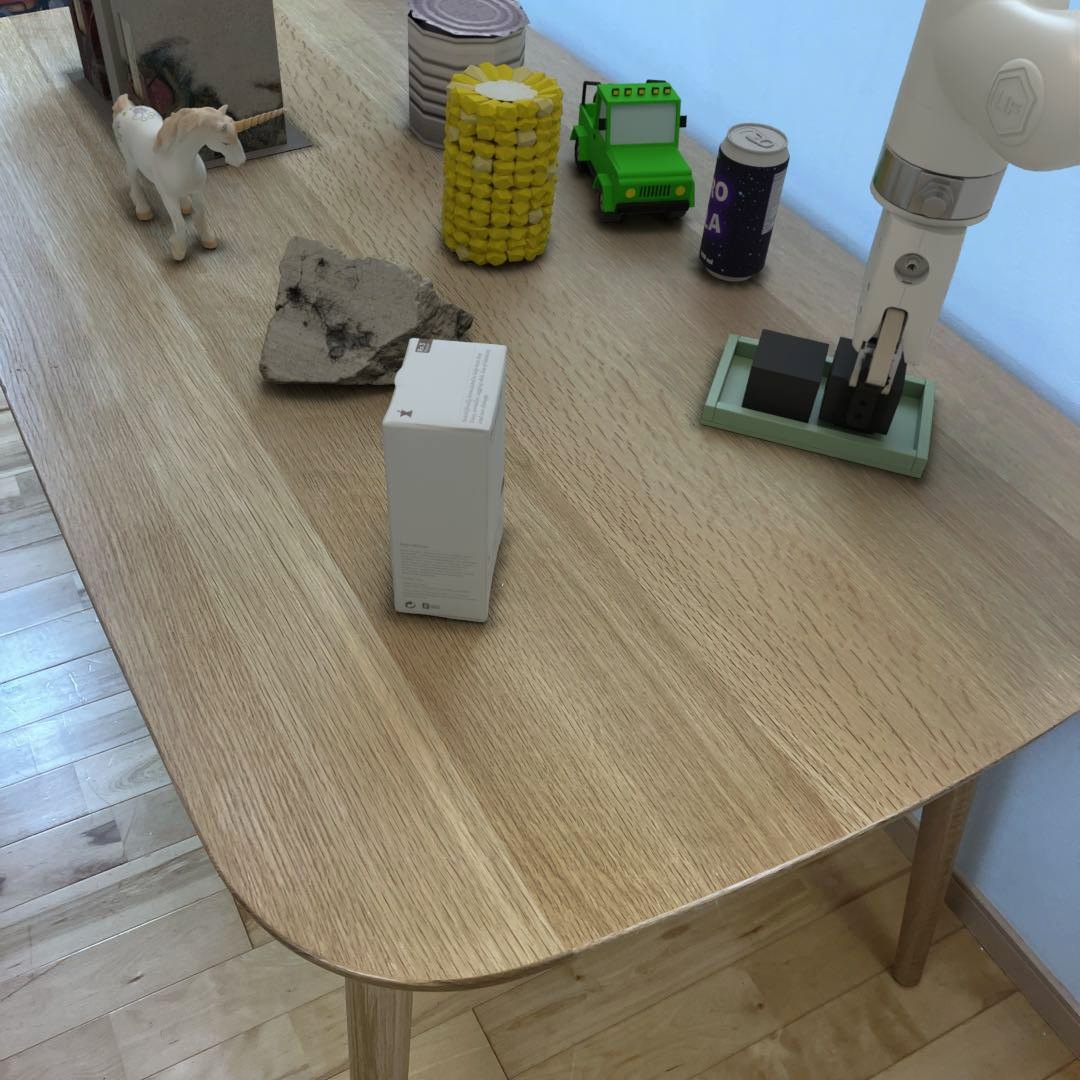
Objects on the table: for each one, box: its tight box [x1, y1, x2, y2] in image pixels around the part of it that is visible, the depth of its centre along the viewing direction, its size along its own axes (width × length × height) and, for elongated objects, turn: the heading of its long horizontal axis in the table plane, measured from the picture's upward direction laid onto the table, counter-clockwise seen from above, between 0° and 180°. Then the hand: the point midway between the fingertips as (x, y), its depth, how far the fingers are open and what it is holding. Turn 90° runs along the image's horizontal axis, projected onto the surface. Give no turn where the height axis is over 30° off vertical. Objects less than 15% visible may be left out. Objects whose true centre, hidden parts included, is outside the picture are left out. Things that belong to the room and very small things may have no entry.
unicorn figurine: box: [112, 94, 288, 261], centre depth 90 cm, size 7×20×13 cm, turn 54°
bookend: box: [66, 0, 314, 170], centre depth 106 cm, size 16×25×16 cm, turn 33°
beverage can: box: [698, 122, 791, 282], centre depth 93 cm, size 6×6×12 cm
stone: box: [258, 235, 475, 386], centre depth 82 cm, size 12×17×10 cm
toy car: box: [569, 78, 696, 222], centre depth 102 cm, size 8×17×10 cm, turn 12°
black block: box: [741, 328, 830, 424], centre depth 83 cm, size 5×5×4 cm
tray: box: [700, 333, 937, 479], centre depth 83 cm, size 16×10×2 cm, turn 72°
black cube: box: [818, 336, 908, 435], centre depth 81 cm, size 5×5×4 cm
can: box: [406, 0, 531, 151], centre depth 108 cm, size 11×11×12 cm
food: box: [440, 62, 565, 267], centre depth 93 cm, size 15×12×10 cm
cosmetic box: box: [381, 338, 508, 623], centre depth 65 cm, size 8×6×15 cm
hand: (858, 402), depth 82 cm, fingers closed on black cube, 4 cm apart
